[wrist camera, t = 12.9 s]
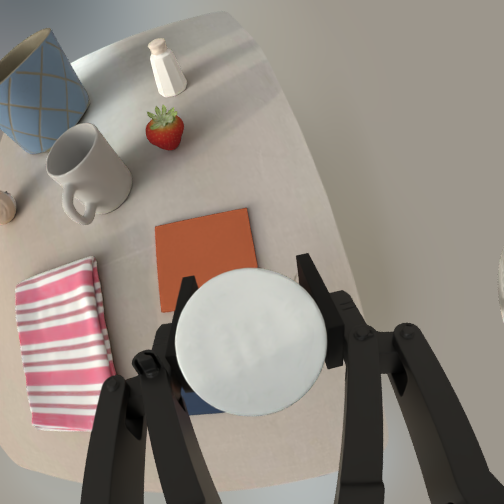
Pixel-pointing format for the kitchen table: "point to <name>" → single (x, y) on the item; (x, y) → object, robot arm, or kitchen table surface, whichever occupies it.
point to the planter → (39, 93)
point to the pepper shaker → (166, 69)
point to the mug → (88, 172)
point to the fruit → (165, 129)
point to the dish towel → (64, 345)
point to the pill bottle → (251, 342)
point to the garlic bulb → (6, 207)
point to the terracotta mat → (201, 251)
